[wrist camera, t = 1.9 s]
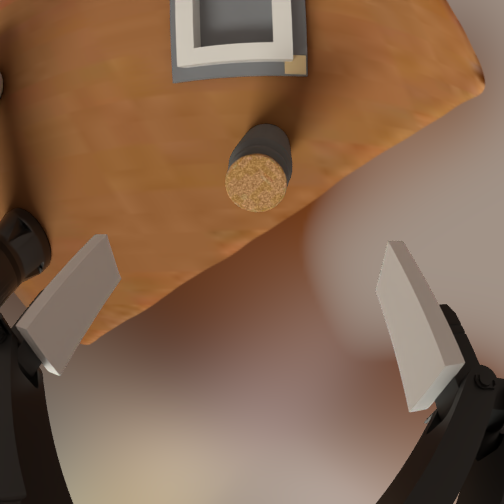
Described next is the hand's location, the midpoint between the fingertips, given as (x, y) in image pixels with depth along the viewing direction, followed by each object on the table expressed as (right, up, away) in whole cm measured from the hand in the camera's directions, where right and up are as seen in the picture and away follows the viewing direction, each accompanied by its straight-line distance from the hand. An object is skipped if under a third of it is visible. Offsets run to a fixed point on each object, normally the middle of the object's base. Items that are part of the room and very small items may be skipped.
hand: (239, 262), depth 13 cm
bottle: (+2, +14, +21) cm, 25 cm away
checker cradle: (-1, +28, +12) cm, 31 cm away
